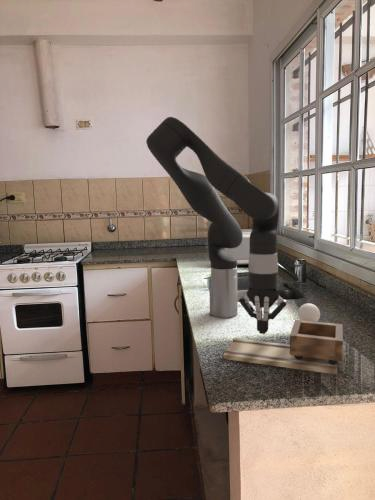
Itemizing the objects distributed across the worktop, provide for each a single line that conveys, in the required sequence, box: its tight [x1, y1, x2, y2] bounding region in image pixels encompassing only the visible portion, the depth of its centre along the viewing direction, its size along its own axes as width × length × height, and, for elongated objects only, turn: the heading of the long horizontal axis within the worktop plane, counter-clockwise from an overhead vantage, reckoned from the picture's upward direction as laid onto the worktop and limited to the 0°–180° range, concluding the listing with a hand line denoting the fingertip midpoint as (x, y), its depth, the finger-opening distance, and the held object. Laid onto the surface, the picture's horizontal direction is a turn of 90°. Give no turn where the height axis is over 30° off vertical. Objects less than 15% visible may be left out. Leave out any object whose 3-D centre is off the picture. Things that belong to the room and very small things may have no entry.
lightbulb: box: [297, 303, 321, 322], centre depth 112 cm, size 6×6×11 cm
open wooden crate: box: [289, 319, 344, 364], centre depth 98 cm, size 12×12×7 cm
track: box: [223, 337, 339, 376], centre depth 102 cm, size 28×12×2 cm, turn 69°
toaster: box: [225, 228, 252, 265], centre depth 226 cm, size 19×34×20 cm, turn 89°
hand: (262, 332), depth 104 cm, fingers closed
